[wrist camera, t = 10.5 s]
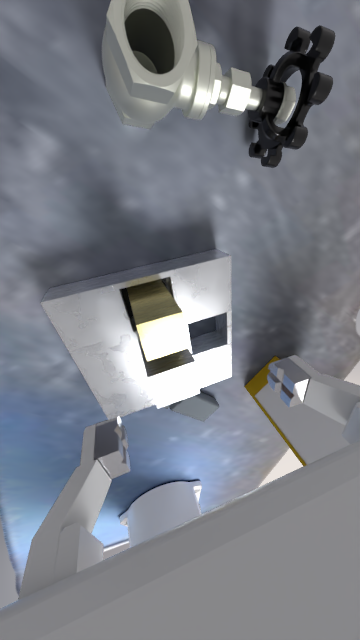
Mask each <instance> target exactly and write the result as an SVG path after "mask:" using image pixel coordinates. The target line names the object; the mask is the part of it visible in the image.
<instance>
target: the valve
mask: <svg viewBox="0 0 360 640" xmlns="http://www.w3.org/2000/svg"><path fill="white" fill-rule="evenodd" d="M310 40H311V41H312V43H313V45H312V47H311V49H310V51H309V52H308V53H307V54H305V53H306V51H307V49H308V47H309V44H310ZM334 41H335V33H334V31H332V30H330V29H328V28H325V27H323V26H318V27H316V28H315V29H314V30H313V32H312V33H310V32H309V31H307V30H305V29H302V28H300V27H295V28H294V29H293V30H292V31H291V33H290V34H289V36H288V39H287V41H286V44H285V49H287V50H290V51H289V52H287V53H286V54H284V55H283V56H282V57H281V58H280V59H279V60H278V62H277V63H276V65H275V66H274V65H269V66H268V67H267V68H266V70H265V72H264V74H263V77H262V78H261V79H260V80H259V81H258V83H257V84H256V86H255V87H254V86H252V81H251V76H250V73H248V72H245V71H241V70H238V69H235V68H232V67H231V68H230V69H229V70H228V71H227V72H226V73H225V74H224V75H222V71H221V66H220V64H219V63H216V51H215V48H214V46H213V45H211V44H208V43H205V42H203V41H200V40H197V38H196V32H195V27H194V22H193V18H192V13H191V9H190V5H189V1H188V0H111V3H110V6H109V9H108V12H107V18H106V26H105V29H104V34H103V40H102V63H103V70H104V75H105V78H106V89H107V91H108V93H109V95H110V98H111V100H112V102H113V104H114V106H115V108H116V111H117V113H118V115H119V117H120V119H121V121H122V123H123V124H124V125H129V126H134V127H140V128H145V129H151V127H152V126H153V124H154V123H155V122H157V121H159V120H161V119H163V118H164V117H165V116H166V115H167V114H168V113H169V112H170V110H171V109H172V108H179V109H182V112H183V115H184V117H185V118H190V119H195V120H201V119H202V118H203V117H204V116H205V114H206V112H207V110H210V109H212V108H213V107H214V106H215V104H218V107H219V113H224V114H228V115H232V116H238V115H240V114H241V113H243V111H244V110H245V109H248V116H249V127H250V128H253V129H257V130H258V135H259V140H258V142H257V143H251V145H250V148H249V156H250V157H253V158H259V159H260V158H261V164H262V166H264V167H271V168H275V167H276V166H277V165H278V164H279V162H280V160H281V157H282V151H281V150H282V148H283V146H284V147H285V148H290V149H295V150H296V149H299V148H300V147H301V146H302V145H303V144H304V143H305V141H306V138H307V135H308V130H307V128H306V127H304V126H303V122H304V119H305V117H306V115H307V113H308V111H309V109H310V107H311V106H312V105H319V104H321V103H322V102H324V100H325V99H326V98H327V97H328V95H329V93H330V91H331V89H332V85H333V78H332V77H331V76H329V75H326V74H323V73H320V72H317V71H318V67H319V65H320V63H321V62H323V61H324V60H325V59H326V57H327V56H328V54H329V53H330V51H331V49H332V47H333V44H334ZM298 70H300V72H301V75H302V87H301V92H300V97H299V100H298V103H297V106H296V109H295V111H294V114H293V116H292V118H291V119H290V121H289V123H288V124H287V126H286V127H285V128H281V127H278V126H276V125H278V124H281V123H283V122H285V121H286V120H287V119H288V117H289V116H290V114H291V112H292V110H293V107H294V105H295V100H296V95H295V89H294V88H293V87H289V86H287V85H286V83H285V82H286V81H287V80H288V78H289V77H290V76H291V75H292V74H293V73H294V72H296V71H298ZM275 124H276V125H275ZM267 149H268V155H267V157H263V156H264V155H265V153H266V151H267Z"/></svg>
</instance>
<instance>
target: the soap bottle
mask: <svg viewBox="0 0 360 640" xmlns="http://www.w3.org/2000/svg"><path fill="white" fill-rule="evenodd" d="M278 360H280V359H279V358H278V357H276V356H274V357H273V358H272V359H271V360H270V361H269V362H268V363H267V364H266V365H265V366H264V367H263V368H262V369H261V370H260V371H259V372H258V373H257V374H256V375H255V376H254V377H253V378H252V379H251V380H250V381H249V382H248V383H247V384H246V385H245V386H244V387H245V388H246V389H247V391H248V392H249V393H250V395H251V396H252V397H253V399H254V400H255V401H256V403H257V404H258V405H259V407H260V408H261V409H262V411H263V412H264V414H265V415H266V416H267V418H268V419H269V420H270V422H271V423H272V424H273V426H274V427H275V428H276V430H277V431H278V432H279V434H280V435H281V436H282V438H283V439H284V440H285V442H286V443H287V445H288V446H289V447H290V449H291V450H292V451H293V453H294V454H295V455H296V457H297V458H298V459H299V461H300V462H301V463H302V465H303V466H306V465H308V464H310V463H312V462H314V461H316V460H319V459H321V458H323V457H325V456H327V455H329V454H331V453H333V452H336V451H338V450H340V449H342V448H344V447H346V446H348V445H350V444H349V443H348V442H347V441H346V440H345V439H344V438H343V437H342V431H343V429H344V427H345V425H343V424H341V423H339V422H337V421H335V420H333V419H332V418H330V417H328V416H326V415H324V414H322V413H320V412H318V411H316V410H315V409H313V408H311V407H309V406H307V405H305V404H303V403H301V404H298V405H295V406H293V407H290V408H289V407H288V406H287V405H286V404H285V403H284V402H283V400H282V399H281V398H280V393H277V392H275V391H274V390H273V389H272V388H271V387H270V385H269V383H268V380H267V376H268V373H269V372H270V370H269V369H268V367H269V364H270V363H273V362H275V361H278Z"/></svg>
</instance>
